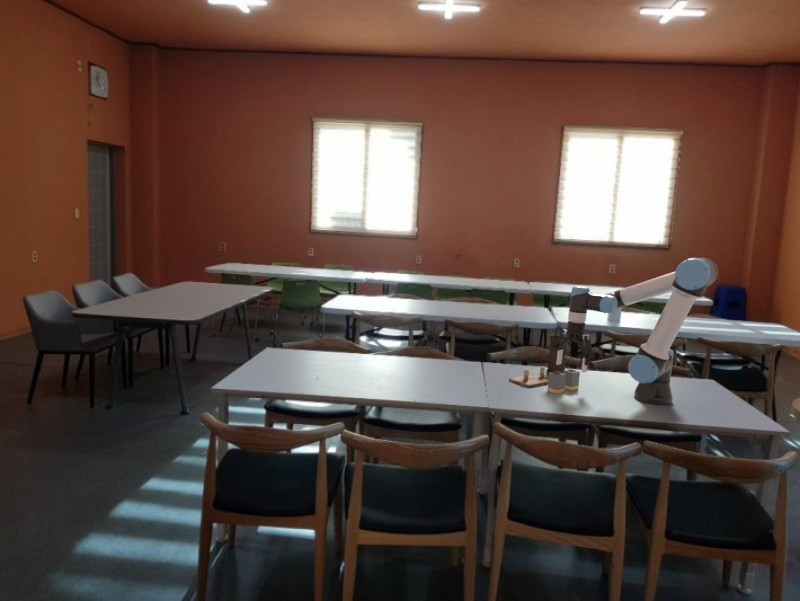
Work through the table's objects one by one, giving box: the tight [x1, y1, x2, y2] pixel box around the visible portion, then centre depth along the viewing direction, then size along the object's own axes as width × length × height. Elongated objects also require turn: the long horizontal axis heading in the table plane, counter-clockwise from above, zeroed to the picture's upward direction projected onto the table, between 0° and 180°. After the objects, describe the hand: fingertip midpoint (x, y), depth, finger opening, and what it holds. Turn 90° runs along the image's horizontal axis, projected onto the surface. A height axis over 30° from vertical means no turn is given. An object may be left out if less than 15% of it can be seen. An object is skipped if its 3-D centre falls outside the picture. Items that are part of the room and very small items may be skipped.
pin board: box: [508, 366, 549, 389], centre depth 274 cm, size 12×20×6 cm, turn 127°
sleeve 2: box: [563, 368, 581, 391], centre depth 266 cm, size 5×5×8 cm
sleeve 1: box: [547, 371, 566, 394], centre depth 260 cm, size 5×5×8 cm
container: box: [545, 335, 567, 374], centre depth 290 cm, size 9×9×18 cm
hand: (571, 368), depth 265 cm, fingers open, 13 cm apart
